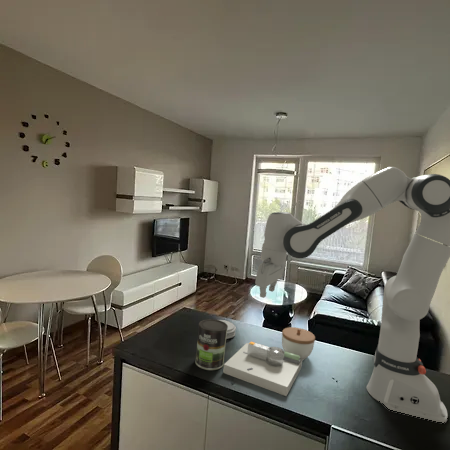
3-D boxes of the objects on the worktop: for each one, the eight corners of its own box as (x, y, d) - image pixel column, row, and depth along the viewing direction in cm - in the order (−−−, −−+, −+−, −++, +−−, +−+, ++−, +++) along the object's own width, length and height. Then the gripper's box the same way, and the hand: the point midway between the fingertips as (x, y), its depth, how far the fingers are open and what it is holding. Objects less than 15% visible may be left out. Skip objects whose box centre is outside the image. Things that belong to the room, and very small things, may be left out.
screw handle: (285, 360, 113) (286, 349, 112) (280, 368, 107) (281, 356, 107) (251, 350, 118) (252, 339, 118) (245, 356, 113) (246, 345, 113)
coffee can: (217, 373, 106) (221, 333, 105) (190, 365, 110) (193, 326, 109) (227, 360, 116) (231, 322, 115) (202, 352, 119) (205, 316, 118)
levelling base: (301, 368, 115) (303, 353, 115) (286, 396, 97) (288, 379, 97) (246, 350, 125) (247, 337, 125) (223, 372, 107) (224, 357, 107)
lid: (227, 343, 129) (228, 332, 129) (200, 335, 135) (202, 324, 134) (239, 333, 141) (240, 322, 140) (214, 325, 146) (215, 315, 146)
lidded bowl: (282, 345, 132) (285, 320, 131) (313, 353, 128) (316, 327, 127) (277, 359, 120) (280, 331, 119) (311, 367, 116) (314, 339, 115)
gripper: (272, 262, 101) (265, 303, 103) (289, 255, 120) (283, 290, 121) (254, 258, 104) (247, 298, 106) (273, 251, 122) (268, 285, 124)
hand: (267, 293), depth 114 cm, fingers open, 8 cm apart
